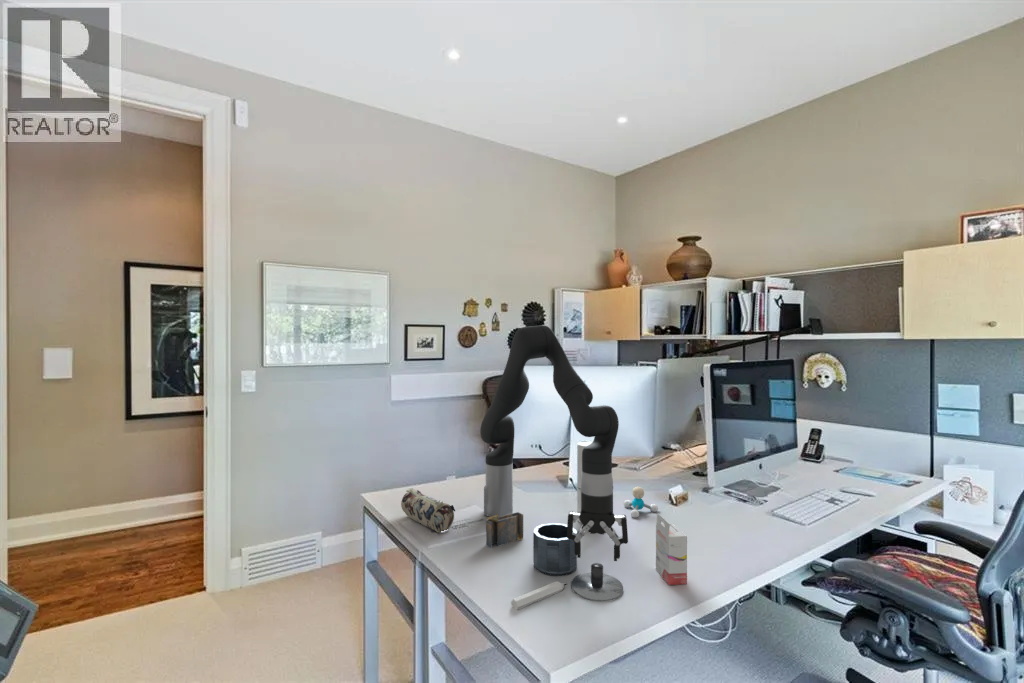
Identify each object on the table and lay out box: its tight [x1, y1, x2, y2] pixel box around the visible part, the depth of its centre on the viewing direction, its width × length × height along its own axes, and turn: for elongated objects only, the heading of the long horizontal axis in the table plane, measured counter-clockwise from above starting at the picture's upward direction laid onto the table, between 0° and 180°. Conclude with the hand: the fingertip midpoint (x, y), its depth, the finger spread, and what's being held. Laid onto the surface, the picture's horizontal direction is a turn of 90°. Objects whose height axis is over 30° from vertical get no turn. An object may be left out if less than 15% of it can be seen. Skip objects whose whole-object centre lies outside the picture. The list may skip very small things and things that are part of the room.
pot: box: [532, 522, 578, 577], centre depth 126 cm, size 11×14×9 cm
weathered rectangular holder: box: [485, 511, 524, 549], centre depth 141 cm, size 11×3×10 cm, turn 125°
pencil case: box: [400, 487, 456, 533], centre depth 155 cm, size 22×8×10 cm, turn 41°
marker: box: [510, 580, 568, 611], centre depth 111 cm, size 3×2×16 cm
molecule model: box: [623, 486, 659, 519], centre depth 167 cm, size 12×12×9 cm
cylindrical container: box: [576, 441, 593, 524], centre depth 158 cm, size 7×7×25 cm
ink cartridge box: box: [655, 512, 688, 586], centre depth 120 cm, size 9×5×15 cm, turn 5°
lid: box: [570, 562, 624, 602], centre depth 115 cm, size 12×12×6 cm
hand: (597, 558), depth 115 cm, fingers open, 8 cm apart
